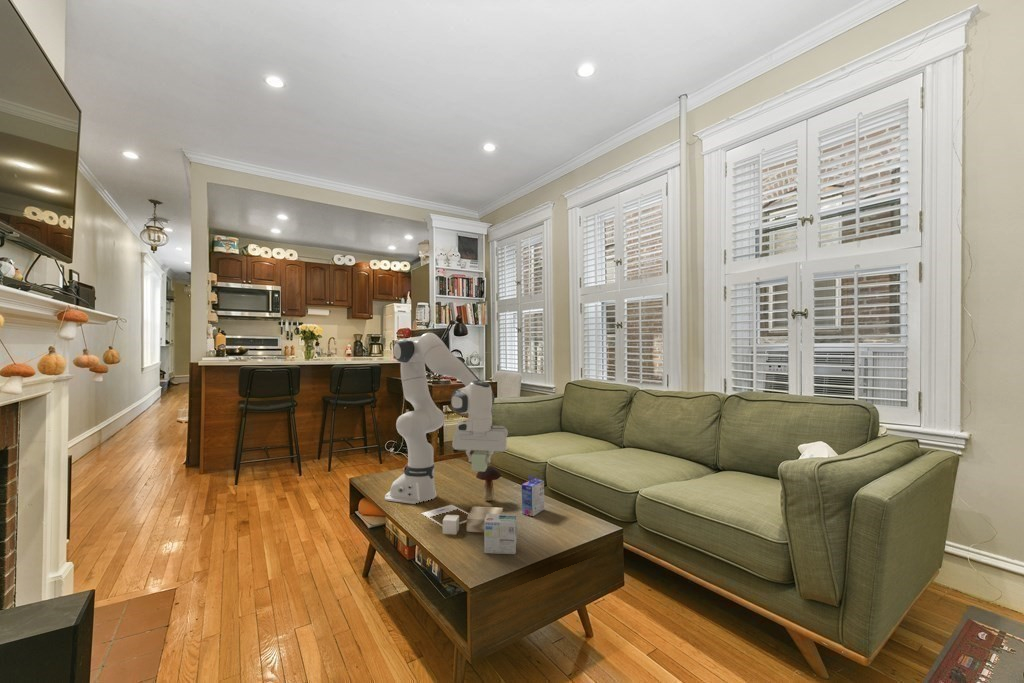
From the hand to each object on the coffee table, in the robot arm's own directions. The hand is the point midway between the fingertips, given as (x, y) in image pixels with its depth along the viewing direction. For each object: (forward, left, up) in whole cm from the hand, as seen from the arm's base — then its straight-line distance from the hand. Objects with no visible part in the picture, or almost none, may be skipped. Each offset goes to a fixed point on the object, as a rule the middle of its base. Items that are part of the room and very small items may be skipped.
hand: (479, 462), depth 161 cm
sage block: (0, 0, -3) cm, 3 cm away
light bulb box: (+10, -15, -25) cm, 31 cm away
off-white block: (-10, -3, -25) cm, 27 cm away
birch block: (+2, +4, -25) cm, 26 cm away
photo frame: (-14, +10, -26) cm, 31 cm away
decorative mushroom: (-1, +29, -25) cm, 38 cm away
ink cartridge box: (+19, +19, -25) cm, 37 cm away
